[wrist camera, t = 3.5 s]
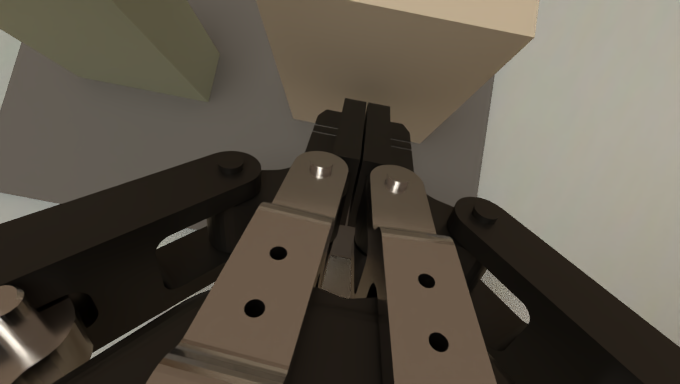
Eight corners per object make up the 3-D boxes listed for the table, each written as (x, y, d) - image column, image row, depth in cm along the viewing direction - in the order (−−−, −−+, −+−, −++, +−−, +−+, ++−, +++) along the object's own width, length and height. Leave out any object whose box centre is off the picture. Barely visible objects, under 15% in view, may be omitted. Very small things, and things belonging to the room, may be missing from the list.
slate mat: (505, -32, 18) (511, -42, 17) (459, 278, 16) (464, 280, 16) (83, -118, 18) (74, -130, 17) (-11, 189, 16) (-24, 187, 15)
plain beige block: (428, 89, 16) (549, -77, 7) (419, 143, 16) (533, 37, 7) (304, 65, 16) (275, -133, 7) (293, 118, 16) (249, -20, 7)
